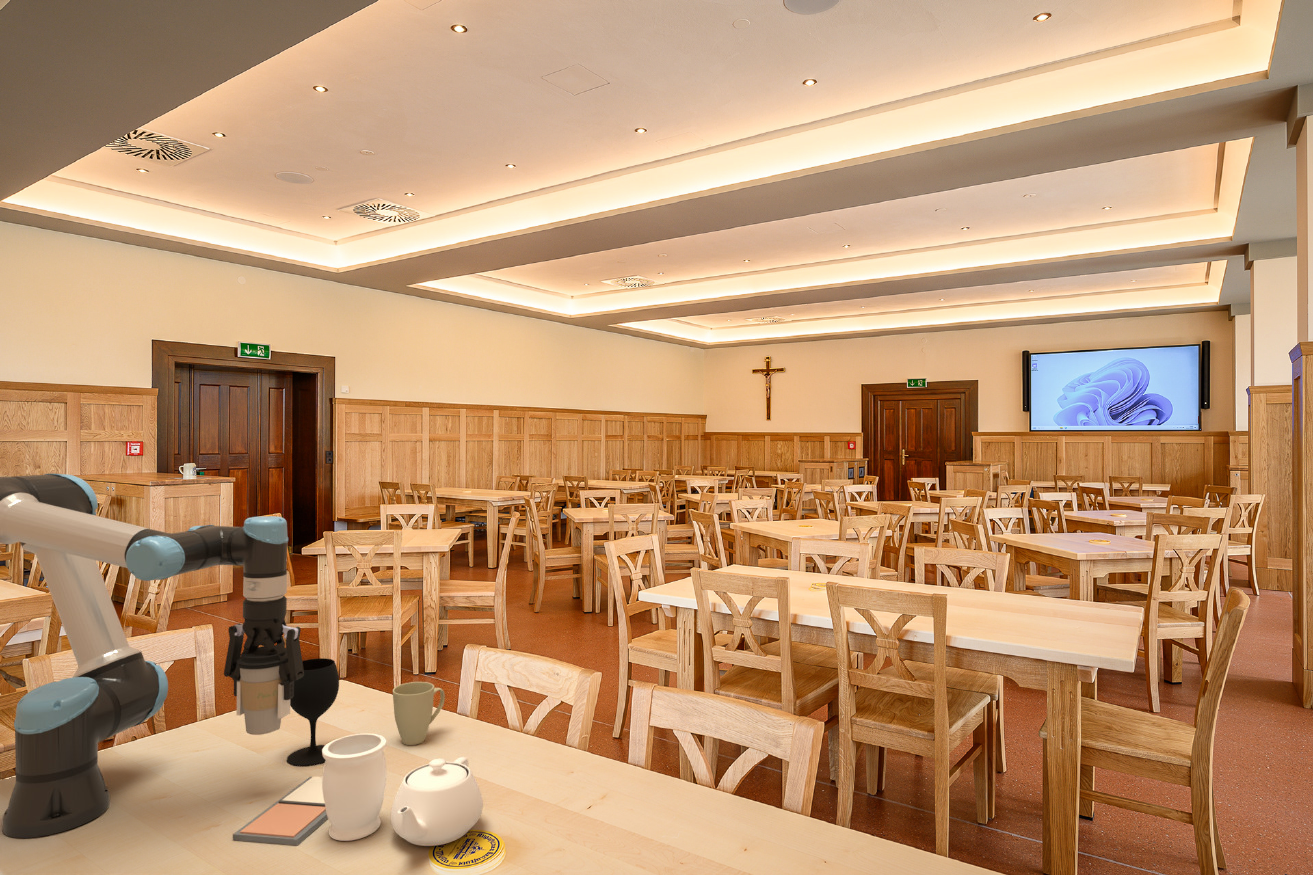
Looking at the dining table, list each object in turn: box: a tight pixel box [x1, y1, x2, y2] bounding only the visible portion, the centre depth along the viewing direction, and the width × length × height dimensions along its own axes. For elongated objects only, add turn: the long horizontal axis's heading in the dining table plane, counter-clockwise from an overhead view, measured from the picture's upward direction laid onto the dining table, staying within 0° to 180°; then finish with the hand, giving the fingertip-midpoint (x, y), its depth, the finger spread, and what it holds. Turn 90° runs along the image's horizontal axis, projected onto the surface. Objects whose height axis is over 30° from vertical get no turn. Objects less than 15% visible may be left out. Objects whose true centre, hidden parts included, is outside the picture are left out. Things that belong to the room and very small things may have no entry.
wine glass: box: [286, 658, 340, 768], centre depth 162 cm, size 10×10×20 cm
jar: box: [321, 733, 388, 842], centre depth 132 cm, size 11×10×15 cm
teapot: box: [390, 756, 484, 847], centre depth 131 cm, size 25×16×12 cm, turn 170°
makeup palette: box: [232, 776, 329, 847], centre depth 138 cm, size 12×22×2 cm, turn 172°
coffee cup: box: [236, 646, 288, 736], centre depth 145 cm, size 9×9×15 cm
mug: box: [392, 681, 446, 746], centre depth 171 cm, size 11×10×12 cm
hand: (263, 714), depth 145 cm, fingers closed on coffee cup, 8 cm apart
